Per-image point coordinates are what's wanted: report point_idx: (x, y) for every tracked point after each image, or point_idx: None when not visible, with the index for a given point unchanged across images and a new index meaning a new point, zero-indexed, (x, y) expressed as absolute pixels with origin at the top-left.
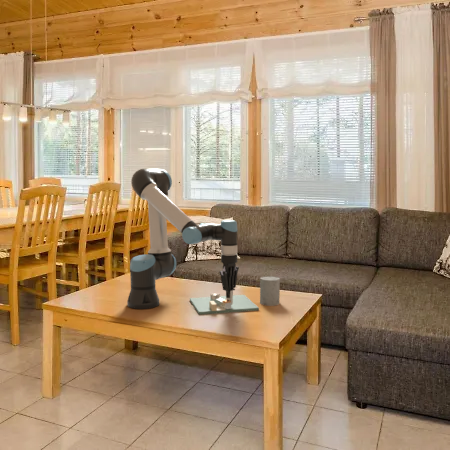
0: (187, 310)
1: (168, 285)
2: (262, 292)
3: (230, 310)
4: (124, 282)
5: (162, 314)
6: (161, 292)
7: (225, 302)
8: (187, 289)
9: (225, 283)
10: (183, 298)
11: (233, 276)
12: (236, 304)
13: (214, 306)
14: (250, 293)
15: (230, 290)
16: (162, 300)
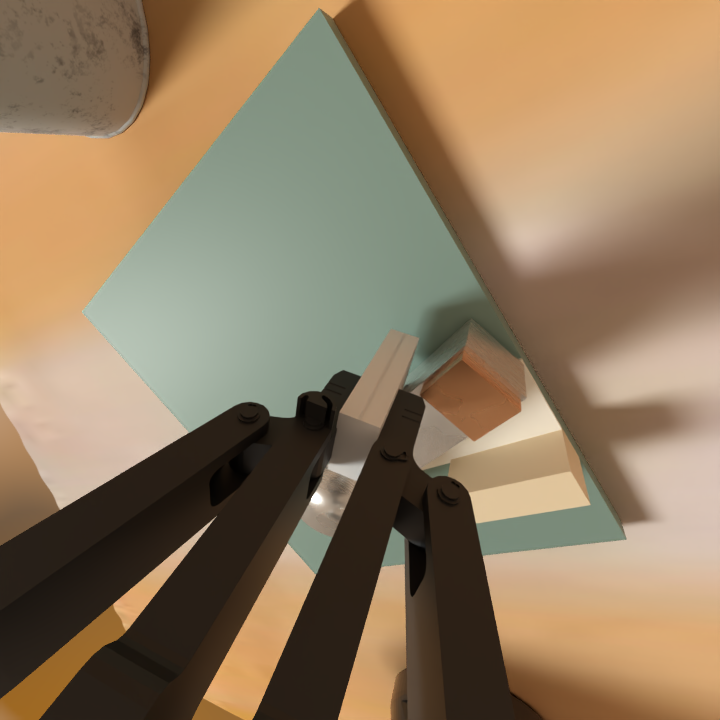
0: (517, 576)
1: None
2: (10, 54)
3: (497, 314)
4: (232, 697)
5: (640, 681)
6: (267, 637)
7: (516, 402)
8: (179, 563)
9: (489, 651)
10: (301, 581)
11: (151, 616)
12: (312, 305)
13: (577, 471)
14: (20, 287)
15: (383, 442)
16: (370, 647)
